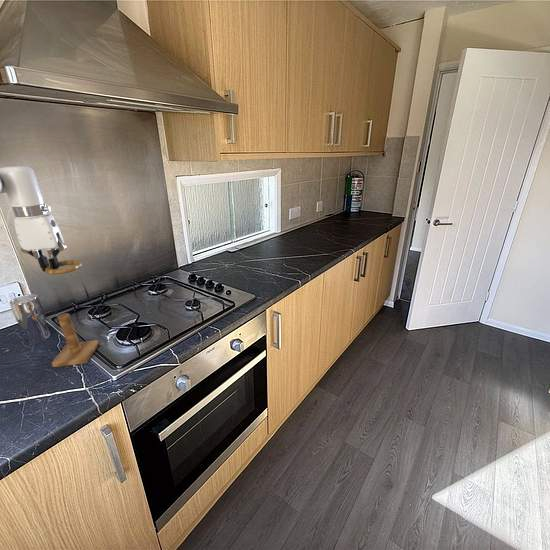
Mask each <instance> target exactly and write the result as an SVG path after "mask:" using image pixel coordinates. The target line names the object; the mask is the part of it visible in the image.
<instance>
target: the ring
mask: <svg viewBox="0 0 550 550" xmlns="http://www.w3.org/2000/svg"><path fill="white" fill-rule="evenodd" d="M58 262H59V268H58V269H51V267H50V264H49V266H47V267H46V268H45V270H46V271H45V273H46V274H49V275H53V276H54V275H64V274H68V273H72V272H75V271H78V270H79V269H80V268H81V267H83V263H82V262H81V260H78V259H68V260H67V259H65V260H61V261H58ZM64 266H65V267H64ZM66 266H68V267H66ZM61 267H62V268H61Z"/></svg>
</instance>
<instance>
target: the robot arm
mask: <svg viewBox="0 0 550 550" xmlns="http://www.w3.org/2000/svg"><path fill="white" fill-rule="evenodd" d="M0 194H6V195H7V197H8V200H9V203H10V206H11V208H12V210H13V215H14V216H15V217H13V222H14V223H13V224H14V229H15V233H16V238H17V241H18V244H19V245H20V252H21V253H22V254H27V255H30V256H31V257H33V258H34V259H35V260H36V261H37V262H38V265H39V267H40V269H41V270H42V272H45V273H46V270H45V268H46V267H47V266H49V265H50V267H51V269H60V267H59V262H60V261H59V259H58V256H59V254H60V253H61V252H62V251H64V250H66V249H67V248H68V247H67V245H66V244H65V241H64V238H63V235H62V232H61V229H60V228H59V225H58V223H57V221H56V220H55V218H54V216H53V214H51V213H49V212H51V211H52V207H51V206H48V205H47V204H46V203H45V200H44V198H43V195H42V191H41V189H40V186H39V183H38V180H37V177H36V173H35V171H34V169H33V168H31V167H30V166H26V165H13V166H4V167H0ZM44 250H46V252H47V255H48V257H47V256H46V255H45V254H44Z"/></svg>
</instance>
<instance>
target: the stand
mask: <svg viewBox="0 0 550 550" xmlns="http://www.w3.org/2000/svg"><path fill="white" fill-rule="evenodd" d="M57 321H58V323H59V326H60V329H61V331H62V334H63V336H64V339H65V341H66V344H64V347H63V348H62V349H61V350H60V352H59V353H58V354H57V355H56V357H55V358H54V359H53V360H52V362H51V365H52V368H57V367H65V366H73V365H82V364H89V362H90V360H91V358H92V357H93V355H94V354H95V352H96V350H97V349H98V348H99V346H100V344H99V343H100V340H99V339H95V340H85V341H80V340H79V336H78V334H77V332H76V329H75V326H74V323H73V321H72V317H71V315H70V313H69V312H68V313H67V312H65V313H61V314H58V315H57ZM93 353H94V354H93ZM92 354H93V355H92ZM91 356H92V357H91Z"/></svg>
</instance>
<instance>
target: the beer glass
mask: <svg viewBox="0 0 550 550" xmlns="http://www.w3.org/2000/svg"><path fill="white" fill-rule="evenodd" d="M9 305H10V308H11V312H12V314H13V317H14V319H15V321H16V323H18V325H19V326H20V328H21V329H22V330H23V331H24V333H25V335H26V337H27V342H28V344H29V345H39V344H42V343H44V342H47V341H48V340H50V339H51V338H52V333H51V332H50V330H49V329H48V326H47V320H46V313H45V309H44V307H43V304H42V302H41V300H40V299H39V296H38V295H37V294H36V293H35V294H34V293H29V294H23V295H20V296H17V297H14V298H13V299H11V300H10V301H9Z"/></svg>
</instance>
